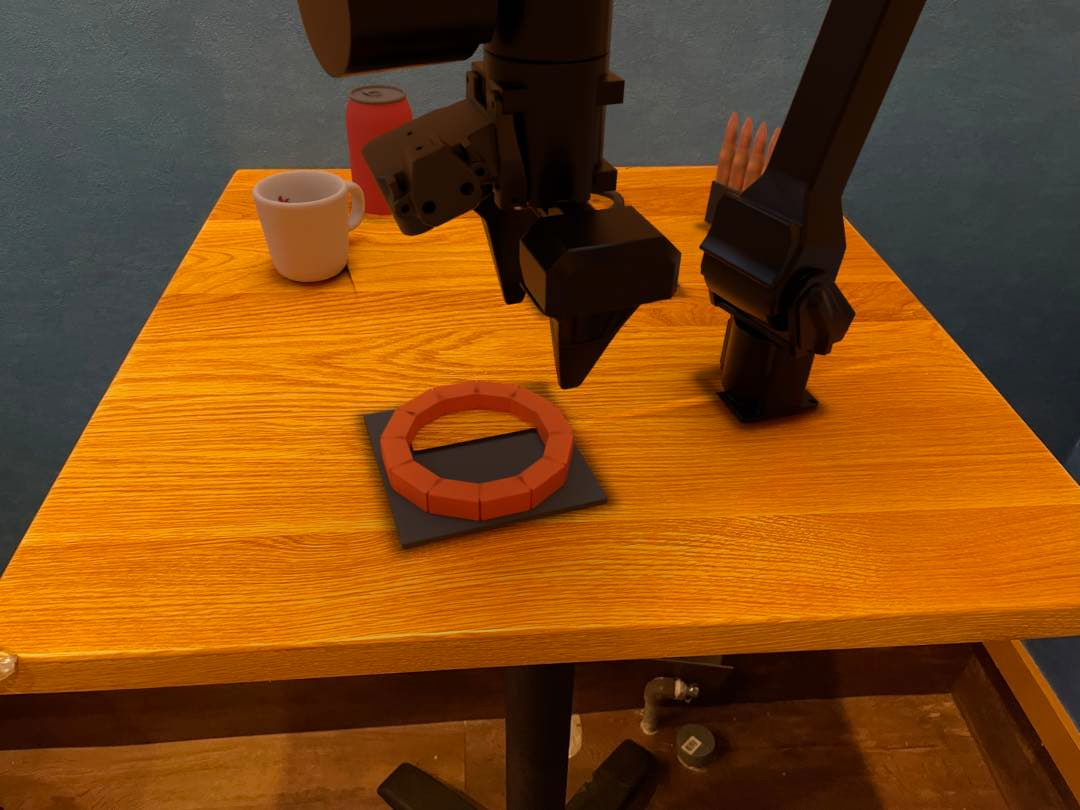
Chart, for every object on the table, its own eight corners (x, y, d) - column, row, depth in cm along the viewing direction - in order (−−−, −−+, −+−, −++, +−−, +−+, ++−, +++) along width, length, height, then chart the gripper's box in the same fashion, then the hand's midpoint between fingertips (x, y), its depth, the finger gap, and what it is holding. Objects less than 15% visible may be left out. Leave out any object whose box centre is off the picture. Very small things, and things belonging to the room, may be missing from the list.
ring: (599, 495, 51) (601, 475, 50) (406, 538, 48) (404, 518, 47) (534, 387, 60) (535, 369, 59) (369, 417, 57) (367, 398, 56)
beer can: (386, 192, 90) (377, 78, 83) (431, 207, 87) (425, 91, 80) (342, 210, 86) (328, 92, 79) (387, 227, 83) (377, 106, 76)
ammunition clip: (796, 261, 79) (825, 138, 72) (783, 266, 79) (812, 142, 71) (714, 223, 86) (734, 107, 79) (702, 227, 85) (721, 110, 78)
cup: (337, 233, 81) (327, 154, 77) (396, 256, 78) (389, 174, 73) (248, 273, 74) (231, 188, 69) (309, 299, 71) (295, 212, 66)
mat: (607, 502, 51) (608, 497, 51) (402, 549, 48) (402, 544, 47) (538, 387, 61) (538, 383, 61) (364, 419, 57) (363, 414, 57)
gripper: (333, 12, 41) (366, 286, 51) (417, 130, 27) (441, 477, 37) (540, 2, 45) (535, 261, 54) (710, 102, 31) (663, 429, 40)
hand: (539, 341), depth 46 cm, fingers open, 9 cm apart
